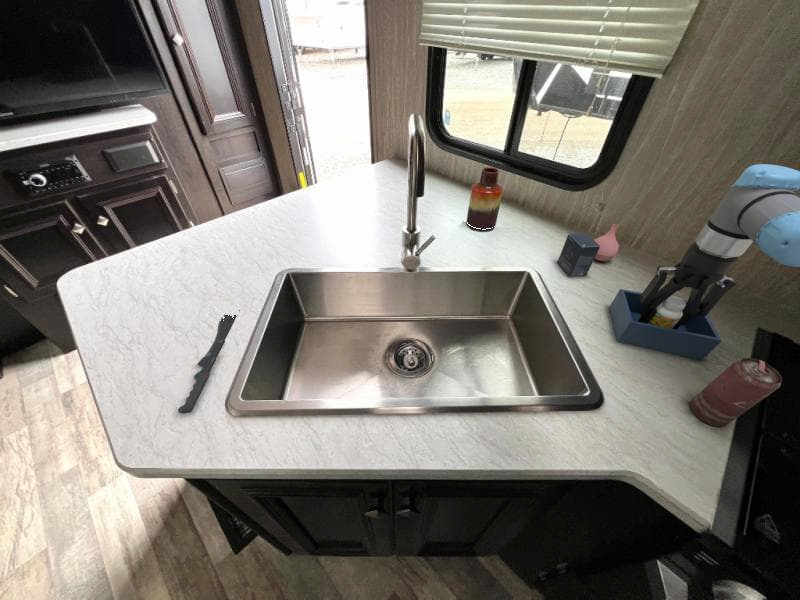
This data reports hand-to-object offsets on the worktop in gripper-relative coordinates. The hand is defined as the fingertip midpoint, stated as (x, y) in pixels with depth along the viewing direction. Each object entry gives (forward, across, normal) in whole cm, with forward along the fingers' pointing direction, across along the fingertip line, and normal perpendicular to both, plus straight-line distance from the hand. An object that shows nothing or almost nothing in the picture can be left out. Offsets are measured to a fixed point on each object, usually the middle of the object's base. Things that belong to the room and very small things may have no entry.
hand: (653, 329), depth 78 cm
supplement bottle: (+1, 0, 0) cm, 1 cm away
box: (+1, +17, -22) cm, 28 cm away
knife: (+1, +99, +39) cm, 106 cm away
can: (+1, -5, +21) cm, 22 cm away
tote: (+1, 0, 0) cm, 1 cm away
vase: (+1, +48, -42) cm, 63 cm away
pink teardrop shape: (+1, +8, -31) cm, 32 cm away
